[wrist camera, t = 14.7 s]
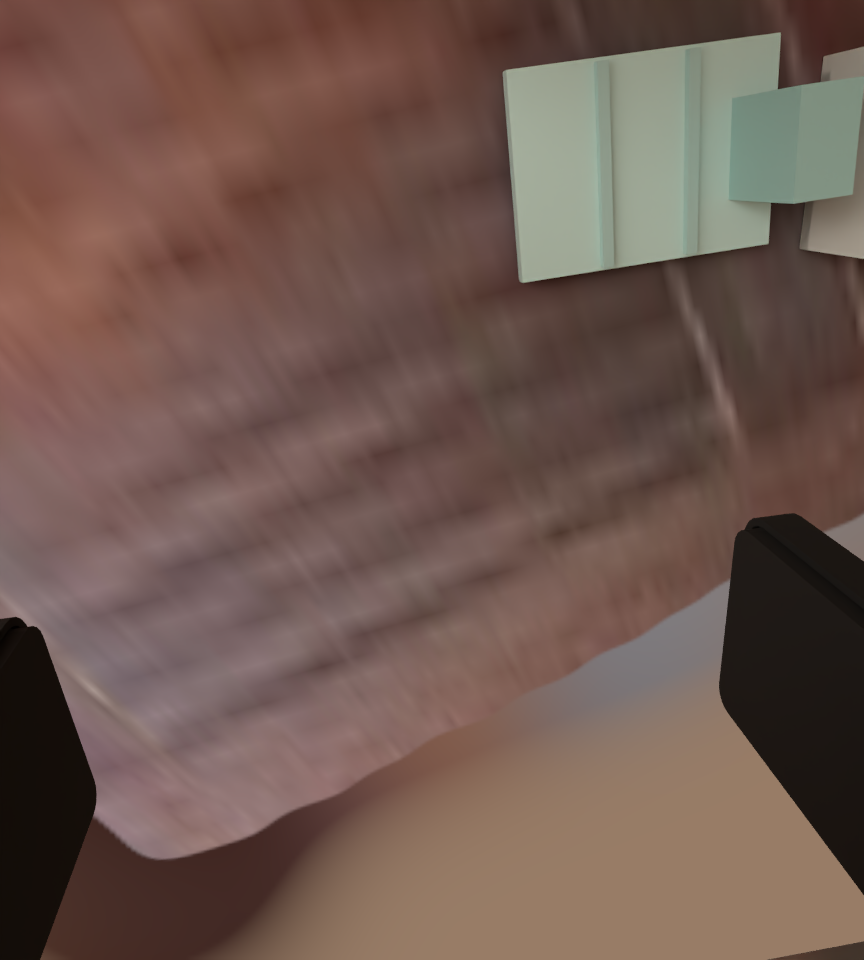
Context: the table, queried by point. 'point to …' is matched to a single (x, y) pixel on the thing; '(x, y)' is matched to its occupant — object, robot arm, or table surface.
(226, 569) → the table surface
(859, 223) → the tub
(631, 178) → the lid
